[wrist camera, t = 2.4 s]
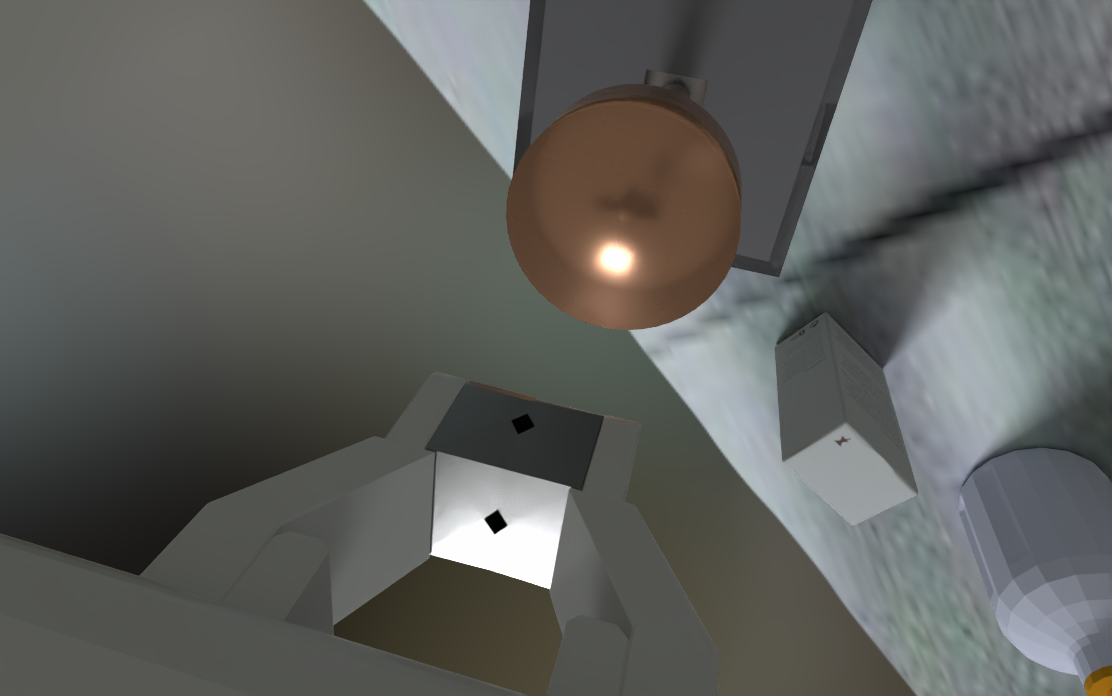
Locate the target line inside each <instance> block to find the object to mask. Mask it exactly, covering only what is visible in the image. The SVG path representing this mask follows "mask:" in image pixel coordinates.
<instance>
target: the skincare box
mask: <svg viewBox="0 0 1112 696" xmlns="http://www.w3.org/2000/svg"><path fill="white" fill-rule="evenodd" d="M775 360H776V375H777V390H778V405H779V421H780V437H781V450H782V462H783V463H784V464H785V465H786V466H787V467H788V468H789V469H790V470H791V471H793V472H794V473H795V474H796V475H797V476H798V477H799V478H800V479H801V480H802V481H803V482H804V483H806V484H807V485H808V486H809V487H810V488H811V489H812V490H813V491H814V492H816V493H817V494H818V495H819V496H820V497H821V498H822V499H823V500H825V501H826V502H827V503H828V504H829V505H830V506H831V507H832V508H833V509H834V510H836V511H837V512H838V513H839V514H840V515H841V516H842V517H843V518H844V519H845V520H846V521H847V522H849V524H850V525H852V526H855V525H857V524H858V523H860V522H862V521H864V520H866V519H868V518H870V517H872V516H874V515H876V514H878V513H880V512H882V511H884V510H886V509H889V508H891V507H893V506H895V505H897V504H899V503H901V502H903V501H905V500H908V499H910V498H912V497H914V496H916V495H918V489H917V486H916V483H915V479H914V476H913V472H912V468H911V465H910V462H909V458H908V455H907V451H906V448H905V444H904V441H903V437H902V434H901V430H900V427H899V423H898V420H897V417H896V413H895V410H894V406H893V403H892V399H891V396H890V392H889V389H888V385H887V382H886V378H885V375H884V372H883V369H882V368H881V367H880V366H879V365H878V364H877V363H876V362H875V361H874V360H873V359H872V358H871V357H870V356H869V355H868V354H867V353H866V352H865V351H864V350H863V349H862V348H861V347H860V346H859V345H858V344H857V343H856V342H855V341H854V340H853V339H852V338H851V337H850V336H849V335H848V334H847V333H846V332H845V331H844V330H843V329H842V328H841V327H840V326H839V325H838V324H837V323H836V321H835V320H834V319H833V318H832V317H831V316H830V315H829V314H828V313H827V312H824V313H823V314H821V315H820V316H818V317H817V318H815V319H814V320H812V321H811V322H810V323H808V324H807V325H805V326H804V327H803V328H801V329H800V330H798V331H797V332H795V333H794V334H792V335H791V336H790V337H788V338H787V339H785V340H784V341H782V342H781V343H779V344H778V345H777V346H776V347H775Z"/></svg>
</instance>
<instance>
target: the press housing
mask: <svg viewBox="0 0 1112 696" xmlns="http://www.w3.org/2000/svg"><path fill="white" fill-rule="evenodd" d="M871 3H872V0H530V10H529V20H528V30H527V40H526V50H525V60H524V70H523V80H522V90H521V100H520V110H519V120H518V130H517V140H516V150H515V160H514V170H513V174H514V172H515V170H516V168H517V166H518V164H519V162H520V160H521V158H522V157H523V155H524V154H525V152H526V151H527V149H528V148H529V147H530V146H531V145H532V144H533V142H534V141H535V140H536V139H537V138H538V137H539V136H540V135H541V134H542V133H543V132H544V131H545V130H546V129H547V128H548V127H549V125H550V124H551V123H552V122H553V121H554V120H555V119H556V118H557V117H558V116H559V115H560V114H561V113H562V112H564V111H565V110H566V109H567V108H568V107H569V106H570V105H572V104H573V103H575V102H576V101H578V100H579V99H581V98H582V97H584V96H586V95H588V94H591V93H593V92H595V91H597V90H601V89H604V88H607V87H610V86H617V85H623V84H646V80H647V74H648V70H653V71H658V72H664V73H669V74H675V75H680V76H685V77H691V78H696V79H702V80H707V81H708V85H707V89H706V93H705V97H704V102H703V106H702V108H703V109H705V110H706V111H707V112H708V113H709V114H710V115H711V116H712V117H713V118H714V119H715V120H716V121H717V122H718V123H719V125H720V126H721V128H722V129H723V130H724V132H725V133H726V135H727V136H728V138H729V140H730V142H731V144H732V146H733V148H734V151H735V154H736V156H737V159H738V163H739V167H740V172H741V182H742V204H741V228H740V239H739V243H738V248H737V252H736V255H735V258H734V260H733V263H732V266H731V267H735V268H739V269H744V270H748V271H753V272H757V273H762V274H767V275H771V276H776V277H779V276H780V273H781V270H782V267H783V264H784V261H785V258H786V255H787V252H788V249H789V246H790V243H791V240H792V237H793V234H794V231H795V228H796V225H797V222H798V219H799V216H800V213H801V210H802V207H803V204H804V202H805V199H806V196H807V193H808V190H809V187H810V184H811V181H812V178H813V175H814V172H815V169H816V166H817V163H818V160H819V157H820V154H821V151H822V148H823V145H824V142H825V139H826V136H827V133H828V130H829V127H830V124H831V121H832V119H833V116H834V113H835V110H836V107H837V104H838V101H839V98H840V95H841V92H842V89H843V86H844V83H845V80H846V77H847V74H848V71H849V68H850V65H851V62H852V59H853V56H854V53H855V50H856V47H857V44H858V41H859V38H860V36H861V33H862V30H863V27H864V24H865V21H866V18H867V15H868V12H869V9H870V6H871Z"/></svg>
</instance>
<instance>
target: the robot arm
mask: <svg viewBox="0 0 1112 696" xmlns="http://www.w3.org/2000/svg"><path fill="white" fill-rule="evenodd" d="M640 430H641V426H640V423H639V422H635V421H630V420H626V419H621V418H617V417H612V416H608V415H605V417H604V416H602V415H598V414H594V413H590V412H586V411H582V410H578V409H574V408H569V407H566V406H561V405H557V404H554V403H550V402H545V401H541V400H537V399H536V398H532V397H528V396H525V395H521V394H517V393H514V392H510V391H507V390H503V389H499V388H496V387H492V386H488V385H485V384H481V383H477V382H474V381H468V380H466V379H462V378H458V377H454V376H450V375H446V374H442V373H438V372H436V373H434V374H432V375H430V376H429V377H428V378H427V380H426V381H425V383H424V384H423V386H422V387H421V388H420V390H419V391H418V393H417V394H416V395H415V397H414V398H413V400H412V401H411V402H410V404H409V405H408V407H407V408H406V409H405V411H404V412H403V414H402V415H401V416H400V418H399V419H398V421H397V422H396V424H395V425H394V426H393V428H392V429H391V430H390V432H389V433H388V435H387V436H386V438H385V439H383V438H379V437H375V436H374V437H372V438H369V439H367V440H364V441H362V442H359V443H357V444H354V445H352V446H350V447H347V448H344V449H342V450H339V451H337V452H334V453H332V454H329V455H327V456H325V457H322V458H319V459H317V460H314V461H312V462H310V463H307V464H305V465H302V466H300V467H297V468H295V469H292V470H290V471H287V472H285V473H282V474H280V475H277V476H275V477H273V478H270V479H267V480H265V481H262V482H260V483H258V484H255V485H252V486H250V487H247V488H245V489H242V490H240V491H238V492H235V493H232V494H230V495H227V496H225V497H223V498H220V499H218V500H215V501H213V502H210V503H208V504H207V505H206V506H205V507H204V508H203V509H202V510H201V511H200V512H199V513H198V514H197V515H196V516H195V517H194V519H193V520H192V521H191V522H190V523H189V524H188V525H187V526H186V527H185V528H184V529H183V530H182V531H181V532H180V533H179V534H178V535H177V537H176V538H175V539H174V540H173V541H172V542H171V543H170V544H169V545H168V546H167V547H166V548H165V549H164V550H163V552H162V553H161V554H160V555H159V556H158V557H157V558H156V559H155V560H154V561H153V562H152V563H151V564H150V565H149V566H148V568H146V570H145V571H144V572H143V573H142V574H141V575H140V576H136V575H133V574H130V573H127V572H123V571H120V570H117V569H114V568H110V567H107V566H104V565H101V564H97V563H94V562H90V561H87V560H84V559H81V558H78V557H74V556H71V555H68V554H65V553H61V552H58V551H54V550H51V549H48V548H45V547H41V546H38V545H35V544H32V543H29V542H25V541H22V540H19V539H16V538H12V537H9V536H6V535H3V534H0V696H528V695H525V694H522V693H518V692H515V691H512V690H508V689H505V688H502V687H499V686H495V685H492V684H489V683H486V682H483V681H479V680H476V679H472V678H469V677H466V676H463V675H460V674H456V673H453V672H450V671H447V670H443V669H440V668H437V667H433V666H430V665H427V664H424V663H420V662H417V661H414V660H410V659H407V658H404V657H401V656H397V655H394V654H391V653H388V652H385V651H381V650H378V649H375V648H372V647H368V646H365V645H362V644H359V643H355V642H352V641H349V640H345V639H342V638H339V637H336V636H334V633H333V625H334V624H336V623H337V622H339V621H340V620H342V619H343V618H344V617H346V616H347V615H349V614H350V613H352V612H353V611H354V610H356V609H357V608H359V607H360V606H362V605H363V604H364V603H366V602H367V601H369V600H370V599H371V598H373V597H374V596H376V595H377V594H379V593H380V592H382V591H383V590H384V589H386V588H387V587H389V586H390V585H392V584H393V583H394V582H396V581H397V580H399V579H400V578H401V577H403V576H404V575H406V574H407V573H408V572H410V571H411V570H413V569H414V568H416V567H417V566H419V565H420V564H421V563H423V562H424V561H425V560H427V559H429V554H430V555H434V556H438V557H442V558H446V559H450V560H454V561H458V562H462V563H465V564H469V565H473V566H477V567H481V568H485V569H489V570H492V571H495V572H498V573H502V574H505V575H508V576H511V577H514V578H517V579H521V580H524V581H527V582H530V583H533V584H537V585H540V586H543V587H546V588H549V589H550V595H551V599H552V602H553V605H554V608H555V612H556V615H557V618H558V621H559V625H560V628H561V632H562V635H563V639H562V642H561V645H560V649H559V652H558V656H557V660H556V663H555V667H554V671H553V674H552V677H551V681H550V684H549V688H548V691H547V695H546V696H717V677H718V654H719V652H718V650H717V648H716V647H715V645H714V643H713V641H712V640H711V638H710V636H709V634H708V632H707V631H706V629H705V627H704V625H703V624H702V622H701V620H700V618H699V617H698V615H697V613H696V611H695V610H694V608H693V606H692V604H691V603H690V601H689V599H688V597H687V596H686V594H685V592H684V590H683V589H682V587H681V585H680V583H679V581H678V580H677V578H676V576H675V574H674V573H673V571H672V569H671V567H670V566H669V564H668V562H667V560H666V559H665V557H664V555H663V553H662V552H661V550H660V548H659V546H658V545H657V543H656V541H655V539H654V538H653V536H652V534H651V533H650V531H649V529H648V527H647V525H646V524H645V522H644V520H643V518H642V517H641V515H640V513H639V511H638V510H637V508H636V506H634V505H631V504H628V503H625V499H626V494H627V490H628V485H629V480H630V476H631V471H632V467H633V462H634V457H635V453H636V447H637V443H638V439H639V434H640Z"/></svg>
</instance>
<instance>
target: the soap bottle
mask: <svg viewBox="0 0 1112 696" xmlns="http://www.w3.org/2000/svg"><path fill="white" fill-rule="evenodd" d="M958 510H959V513H960V516H961V519H962V522H963V525H964V527H965V530H966V533H967V536H968V539H969V542H970V544H971V547H972V550H973V553H974V556H975V559H976V562H977V564H978V567H979V570H980V573H981V576H982V579H983V581H984V584H985V587H986V590H987V593H988V596H989V598H990V601H991V604H992V607H993V610H994V613H995V615H996V618H997V621H998V623H999V626H1000V628H1001V631H1002V633H1003V634H1004V635H1005V636H1006V637H1007V638H1008V639H1009V640H1010V641H1011V643H1012V644H1013V645H1014V646H1015V647H1016V648H1018V649H1019V650H1020V651H1021V652H1022V653H1023V654H1024V655H1025V656H1026V657H1028V658H1029V659H1030V660H1033V661H1035V662H1037V663H1039V664H1042V665H1044V666H1046V667H1048V668H1051V669H1053V670H1057V671H1061V672H1064V673H1068V674H1074V675H1079V677H1080V680H1081V682H1082V684H1083V686H1084V689H1085V691H1086V693H1087V695H1088V696H1112V483H1111V481H1110V479H1109V478H1108V477H1107V476H1106V475H1105V474H1104V473H1103V472H1102V471H1101V470H1100V469H1099V468H1098V467H1097V466H1096V465H1095V464H1094V463H1093V462H1092V461H1090V460H1087V459H1085V458H1083V457H1080V456H1078V455H1076V454H1074V453H1071V452H1069V451H1064V450H1057V449H1049V448H1033V449H1024V450H1015V451H1012V452H1010V453H1007V454H1004V455H1001V456H999V457H996V458H993V459H990V460H989V461H988V462H986V463H985V464H984V465H982V466H981V467H979V468H978V469H977V470H975V471H974V472H972V474H971V475H970V477H969V478H968V479H967V481H966V482H965V484H964V485H963V487H962V488H961V491H960V497H959V504H958Z"/></svg>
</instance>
